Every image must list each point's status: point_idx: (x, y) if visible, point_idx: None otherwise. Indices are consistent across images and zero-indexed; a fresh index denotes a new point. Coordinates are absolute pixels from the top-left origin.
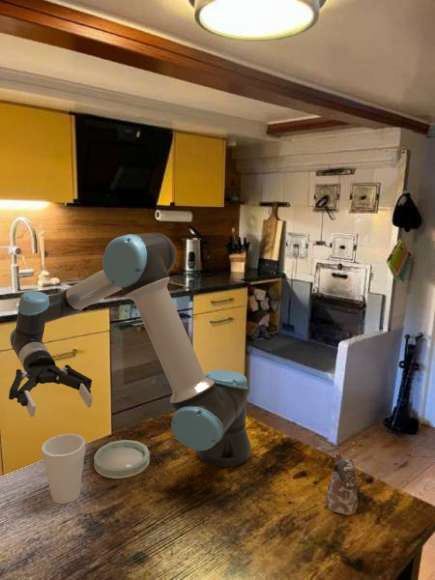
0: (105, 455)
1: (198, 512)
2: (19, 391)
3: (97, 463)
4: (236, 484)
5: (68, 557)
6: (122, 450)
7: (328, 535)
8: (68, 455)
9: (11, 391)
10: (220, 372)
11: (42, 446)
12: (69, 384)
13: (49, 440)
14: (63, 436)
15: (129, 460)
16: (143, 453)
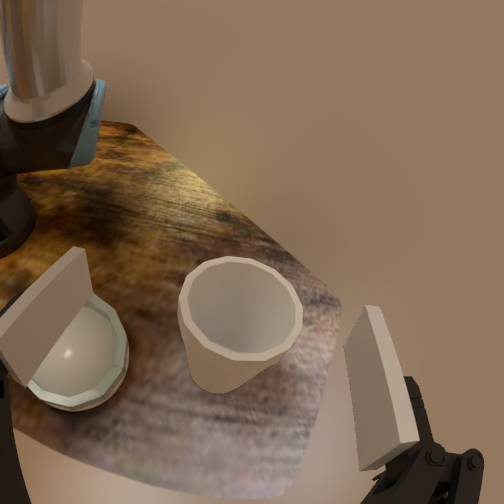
0: (74, 391)
1: (129, 202)
2: (441, 448)
3: (119, 366)
4: (65, 193)
5: (281, 268)
6: (42, 368)
7: (111, 140)
8: (258, 263)
9: (473, 451)
10: None
11: (295, 338)
12: (10, 454)
13: (265, 351)
14: (215, 344)
15: (65, 333)
16: None
